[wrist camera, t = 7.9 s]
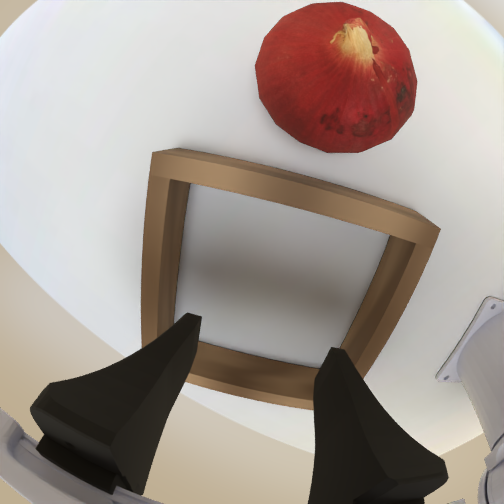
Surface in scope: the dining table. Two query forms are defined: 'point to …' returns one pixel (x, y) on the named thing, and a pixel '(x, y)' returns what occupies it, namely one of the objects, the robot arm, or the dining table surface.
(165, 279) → the box
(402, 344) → the dining table surface
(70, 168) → the dining table surface
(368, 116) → the onion
